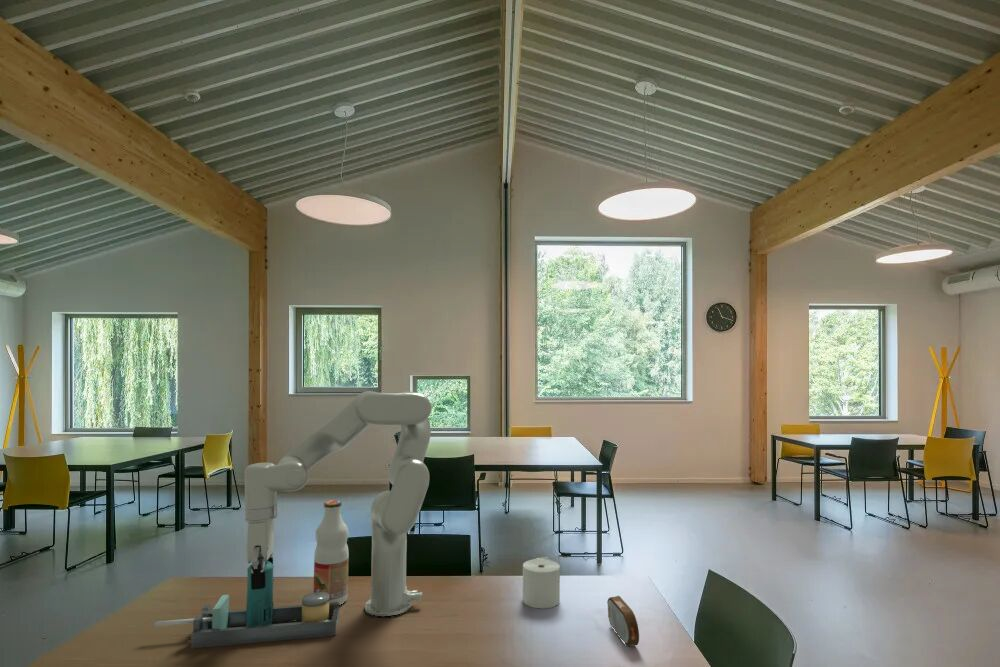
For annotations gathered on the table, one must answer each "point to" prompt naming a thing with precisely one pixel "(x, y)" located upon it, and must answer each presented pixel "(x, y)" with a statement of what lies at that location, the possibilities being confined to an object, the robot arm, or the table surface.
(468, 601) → the table surface
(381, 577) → the robot arm
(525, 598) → the toilet tissue
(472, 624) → the table surface
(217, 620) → the pusher
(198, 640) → the lane
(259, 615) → the beverage bottle
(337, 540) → the fruit juice
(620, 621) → the tin
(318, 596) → the jar
